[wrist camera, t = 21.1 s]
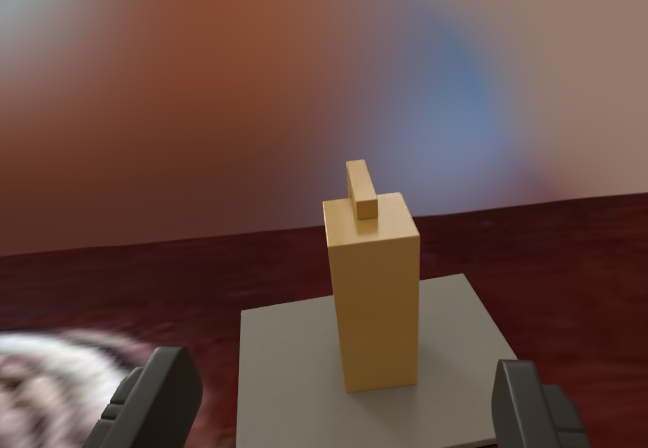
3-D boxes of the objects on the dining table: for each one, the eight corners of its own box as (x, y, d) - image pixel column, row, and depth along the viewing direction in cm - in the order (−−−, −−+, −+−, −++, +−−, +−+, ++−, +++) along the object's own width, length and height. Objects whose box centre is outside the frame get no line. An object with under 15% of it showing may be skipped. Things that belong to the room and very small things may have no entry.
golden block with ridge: (345, 393, 24) (325, 227, 18) (336, 313, 29) (318, 164, 24) (417, 384, 24) (420, 215, 18) (395, 306, 29) (392, 155, 24)
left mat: (236, 493, 21) (234, 487, 21) (242, 316, 31) (241, 310, 31) (558, 432, 22) (560, 425, 21) (462, 279, 32) (463, 273, 32)
